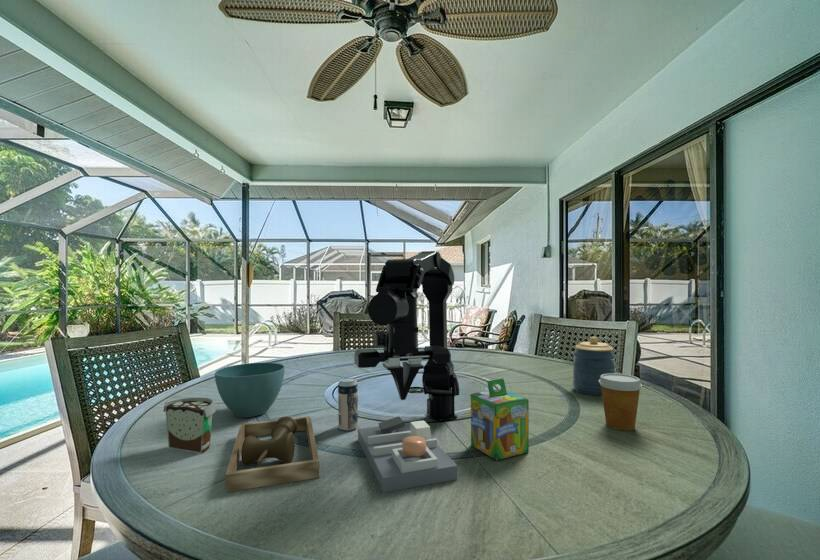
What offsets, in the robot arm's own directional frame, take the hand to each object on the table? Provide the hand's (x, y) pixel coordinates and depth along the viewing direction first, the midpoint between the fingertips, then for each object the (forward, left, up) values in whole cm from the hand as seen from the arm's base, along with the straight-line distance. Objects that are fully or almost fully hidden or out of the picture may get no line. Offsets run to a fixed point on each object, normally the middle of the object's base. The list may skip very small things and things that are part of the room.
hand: (402, 399), depth 79 cm
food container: (+41, -24, -13) cm, 50 cm away
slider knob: (-5, -3, -10) cm, 11 cm away
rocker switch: (-1, -11, -9) cm, 14 cm away
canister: (-74, -29, -13) cm, 80 cm away
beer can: (+7, -23, -13) cm, 27 cm away
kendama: (+25, -13, -13) cm, 31 cm away
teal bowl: (+31, -44, -13) cm, 55 cm away
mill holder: (+24, -13, -13) cm, 30 cm away
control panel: (-1, -3, -13) cm, 13 cm away
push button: (-1, +5, -8) cm, 10 cm away
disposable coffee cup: (-57, -2, -13) cm, 58 cm away
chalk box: (-22, 0, -13) cm, 25 cm away
